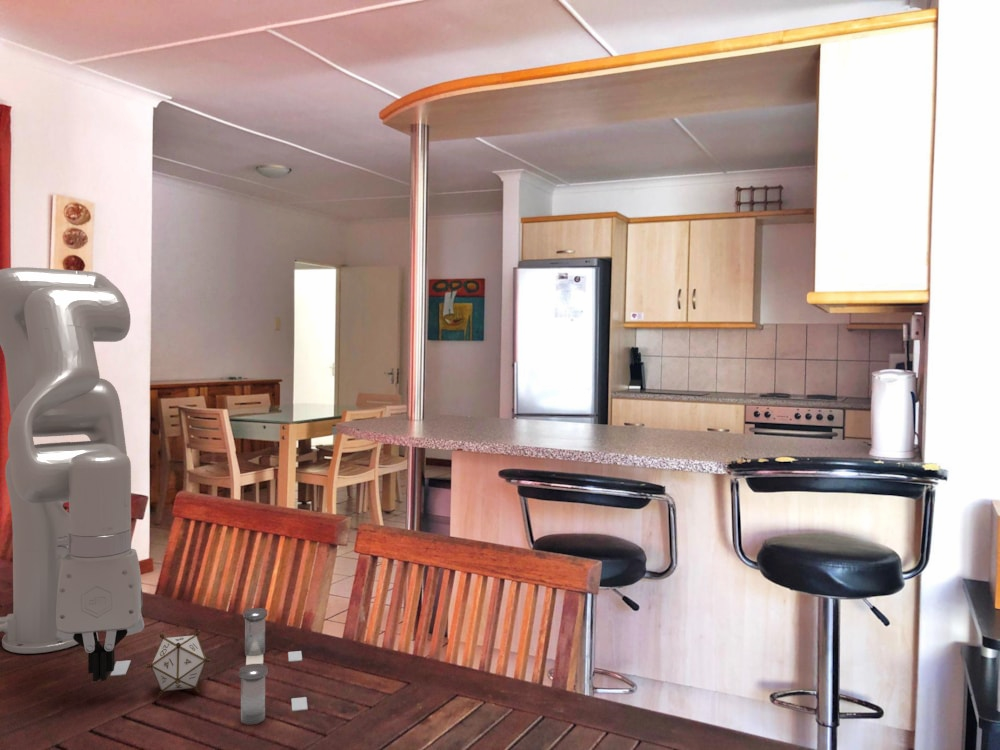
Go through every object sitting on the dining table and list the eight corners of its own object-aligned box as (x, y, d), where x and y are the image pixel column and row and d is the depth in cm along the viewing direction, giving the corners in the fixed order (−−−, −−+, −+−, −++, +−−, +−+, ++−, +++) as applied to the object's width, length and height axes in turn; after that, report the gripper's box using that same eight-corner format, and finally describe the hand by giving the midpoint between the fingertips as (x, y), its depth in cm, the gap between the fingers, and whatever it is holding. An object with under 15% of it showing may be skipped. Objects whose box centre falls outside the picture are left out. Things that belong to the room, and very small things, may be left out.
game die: (184, 721, 112) (182, 683, 106) (133, 693, 113) (128, 654, 107) (225, 669, 119) (225, 631, 112) (176, 643, 120) (174, 604, 114)
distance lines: (85, 732, 101) (85, 731, 101) (116, 662, 122) (116, 661, 122) (307, 709, 108) (307, 708, 108) (300, 647, 129) (300, 646, 129)
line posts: (237, 727, 103) (238, 676, 103) (243, 649, 128) (243, 608, 127) (267, 723, 104) (267, 673, 104) (266, 647, 129) (267, 607, 128)
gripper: (30, 554, 103) (32, 694, 104) (156, 547, 108) (157, 682, 108) (46, 540, 111) (47, 671, 111) (163, 534, 115) (164, 661, 116)
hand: (101, 676), depth 110 cm, fingers closed
